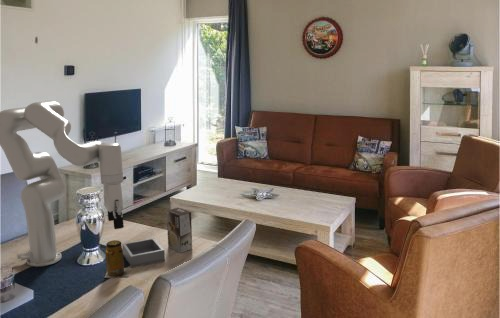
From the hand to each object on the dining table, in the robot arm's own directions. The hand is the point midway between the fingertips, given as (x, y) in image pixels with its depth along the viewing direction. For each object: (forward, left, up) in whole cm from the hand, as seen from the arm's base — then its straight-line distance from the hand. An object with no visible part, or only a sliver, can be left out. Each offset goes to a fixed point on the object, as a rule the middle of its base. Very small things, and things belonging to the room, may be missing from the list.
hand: (115, 224), depth 166 cm
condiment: (0, 0, -19) cm, 19 cm away
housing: (+12, +9, -19) cm, 24 cm away
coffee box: (+28, +11, -19) cm, 36 cm away
